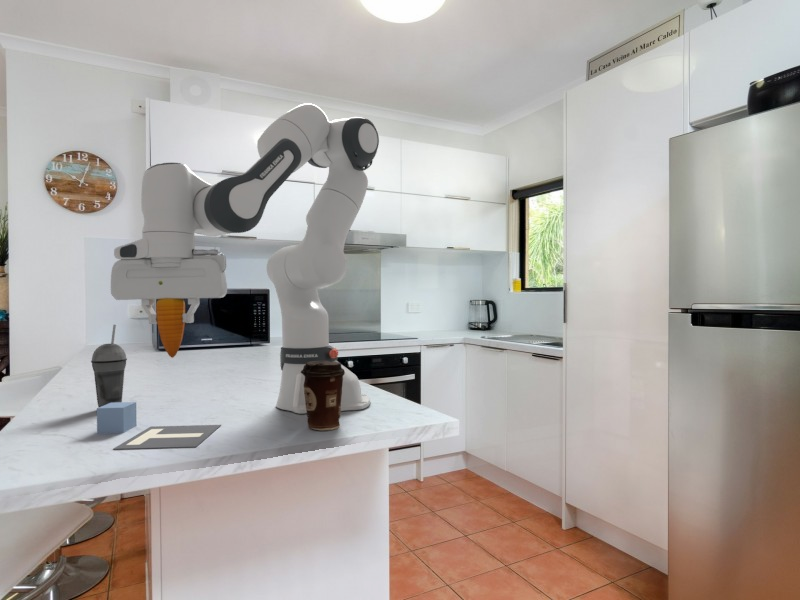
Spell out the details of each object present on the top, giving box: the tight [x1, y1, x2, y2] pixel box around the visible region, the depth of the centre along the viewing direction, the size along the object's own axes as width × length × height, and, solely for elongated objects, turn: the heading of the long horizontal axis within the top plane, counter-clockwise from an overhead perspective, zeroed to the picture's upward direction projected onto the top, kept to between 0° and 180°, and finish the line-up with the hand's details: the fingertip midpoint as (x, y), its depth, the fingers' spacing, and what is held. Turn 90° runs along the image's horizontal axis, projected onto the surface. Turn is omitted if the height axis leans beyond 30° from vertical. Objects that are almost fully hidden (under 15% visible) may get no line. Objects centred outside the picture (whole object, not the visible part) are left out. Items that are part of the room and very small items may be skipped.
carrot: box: [155, 281, 186, 359], centre depth 89 cm, size 5×5×15 cm
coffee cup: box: [301, 361, 345, 432], centre depth 95 cm, size 9×8×13 cm
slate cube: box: [96, 401, 138, 434], centre depth 94 cm, size 5×5×5 cm
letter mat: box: [112, 424, 222, 451], centre depth 89 cm, size 14×14×1 cm
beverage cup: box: [90, 324, 128, 408], centre depth 111 cm, size 7×7×20 cm
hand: (171, 323), depth 89 cm, fingers closed on carrot, 5 cm apart
